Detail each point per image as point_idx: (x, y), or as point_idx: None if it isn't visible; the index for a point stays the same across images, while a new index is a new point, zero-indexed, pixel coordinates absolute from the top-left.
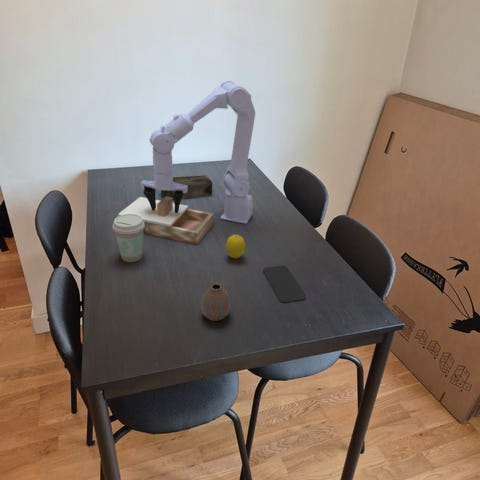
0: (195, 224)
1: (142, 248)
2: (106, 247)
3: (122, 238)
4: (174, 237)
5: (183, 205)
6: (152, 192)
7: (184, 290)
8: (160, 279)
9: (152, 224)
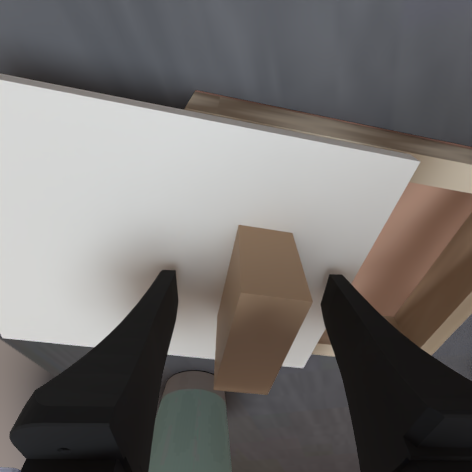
0: (410, 209)
1: (226, 415)
2: None
3: None
4: None
5: (376, 164)
6: (141, 439)
7: (348, 437)
8: (293, 425)
9: None
